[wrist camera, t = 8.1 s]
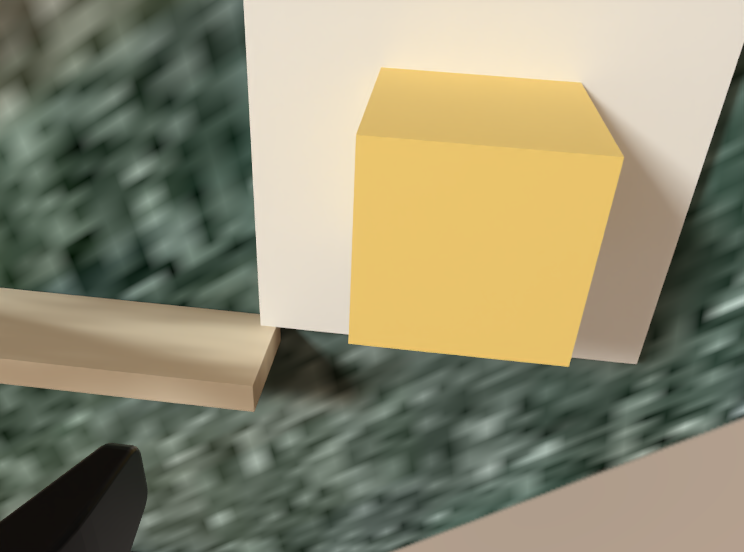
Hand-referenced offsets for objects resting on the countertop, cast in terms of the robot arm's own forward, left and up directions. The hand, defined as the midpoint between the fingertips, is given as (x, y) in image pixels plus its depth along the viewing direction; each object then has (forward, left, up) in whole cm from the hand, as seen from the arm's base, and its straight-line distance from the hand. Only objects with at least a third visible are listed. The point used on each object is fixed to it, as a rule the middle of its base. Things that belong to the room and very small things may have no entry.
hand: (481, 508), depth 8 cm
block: (0, 0, -11) cm, 11 cm away
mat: (0, 0, -12) cm, 12 cm away
